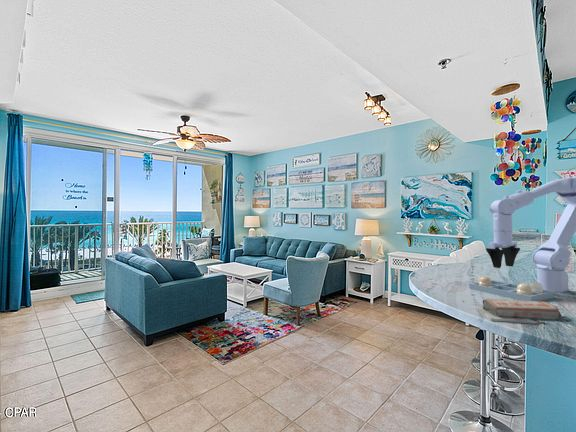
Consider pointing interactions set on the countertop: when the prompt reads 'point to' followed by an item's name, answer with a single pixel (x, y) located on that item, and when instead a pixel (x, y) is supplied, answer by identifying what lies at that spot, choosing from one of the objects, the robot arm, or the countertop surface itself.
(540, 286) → the seated egg
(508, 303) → the packaged product
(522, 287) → the seated egg
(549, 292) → the egg carton
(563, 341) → the countertop surface
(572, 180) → the robot arm
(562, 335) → the countertop surface
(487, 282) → the loose egg
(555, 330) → the countertop surface
